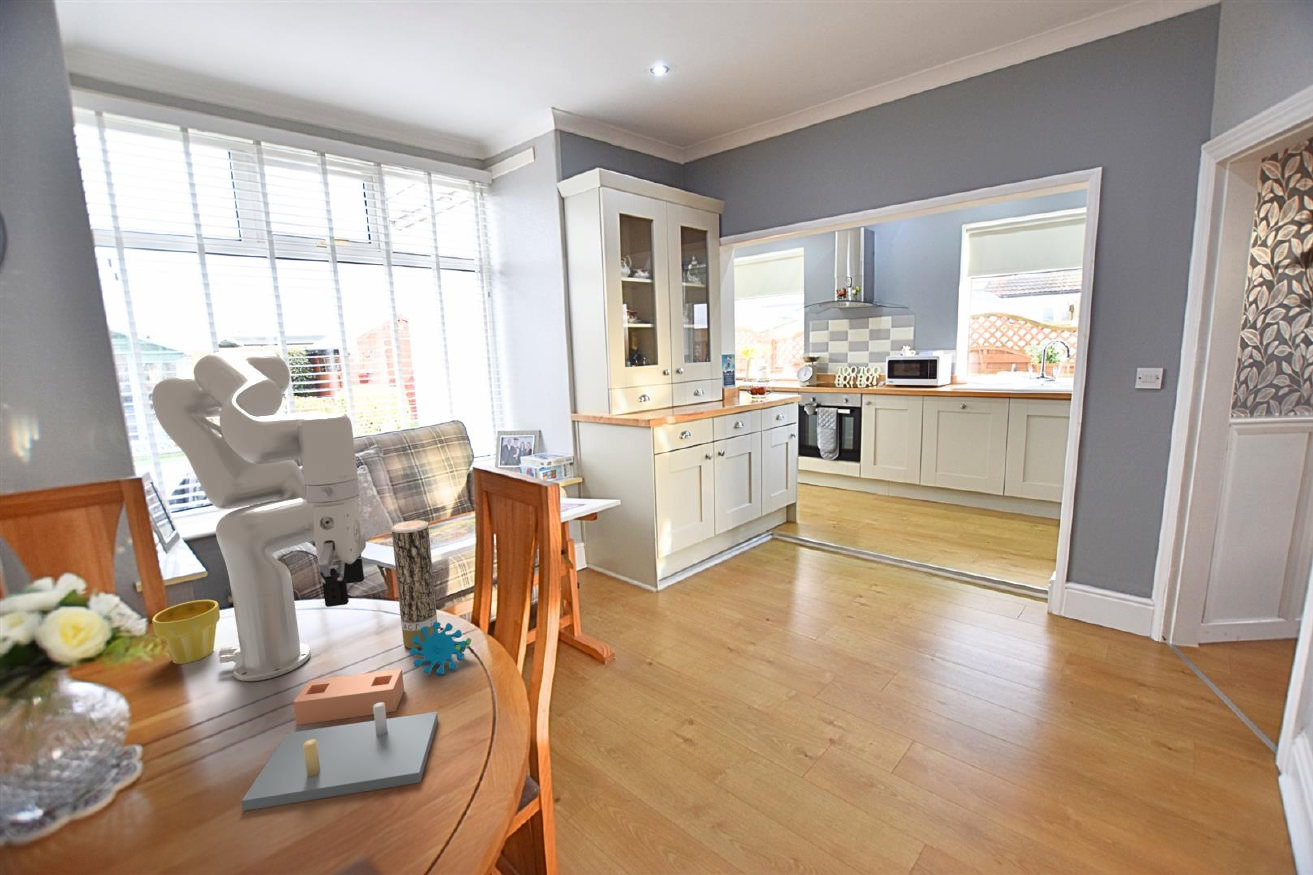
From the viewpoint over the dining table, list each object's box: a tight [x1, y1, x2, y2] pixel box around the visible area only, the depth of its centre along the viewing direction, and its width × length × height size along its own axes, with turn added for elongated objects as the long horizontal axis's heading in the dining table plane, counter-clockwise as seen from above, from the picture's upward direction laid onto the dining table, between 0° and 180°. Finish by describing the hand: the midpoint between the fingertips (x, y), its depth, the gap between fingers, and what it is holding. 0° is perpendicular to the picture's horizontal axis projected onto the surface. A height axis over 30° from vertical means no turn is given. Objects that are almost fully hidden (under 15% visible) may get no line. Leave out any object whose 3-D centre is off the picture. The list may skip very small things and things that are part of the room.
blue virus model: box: [409, 621, 472, 676], centre depth 111 cm, size 11×6×10 cm
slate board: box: [241, 702, 439, 812], centre depth 84 cm, size 22×14×6 cm, turn 101°
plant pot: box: [151, 599, 221, 665], centre depth 117 cm, size 10×10×10 cm
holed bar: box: [293, 668, 405, 726], centre depth 98 cm, size 15×6×4 cm, turn 101°
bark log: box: [391, 519, 439, 650], centre depth 118 cm, size 7×7×25 cm
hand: (346, 592), depth 95 cm, fingers open, 9 cm apart
